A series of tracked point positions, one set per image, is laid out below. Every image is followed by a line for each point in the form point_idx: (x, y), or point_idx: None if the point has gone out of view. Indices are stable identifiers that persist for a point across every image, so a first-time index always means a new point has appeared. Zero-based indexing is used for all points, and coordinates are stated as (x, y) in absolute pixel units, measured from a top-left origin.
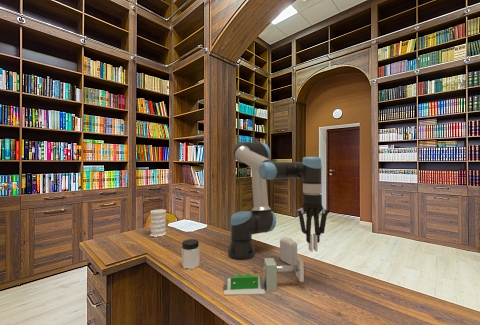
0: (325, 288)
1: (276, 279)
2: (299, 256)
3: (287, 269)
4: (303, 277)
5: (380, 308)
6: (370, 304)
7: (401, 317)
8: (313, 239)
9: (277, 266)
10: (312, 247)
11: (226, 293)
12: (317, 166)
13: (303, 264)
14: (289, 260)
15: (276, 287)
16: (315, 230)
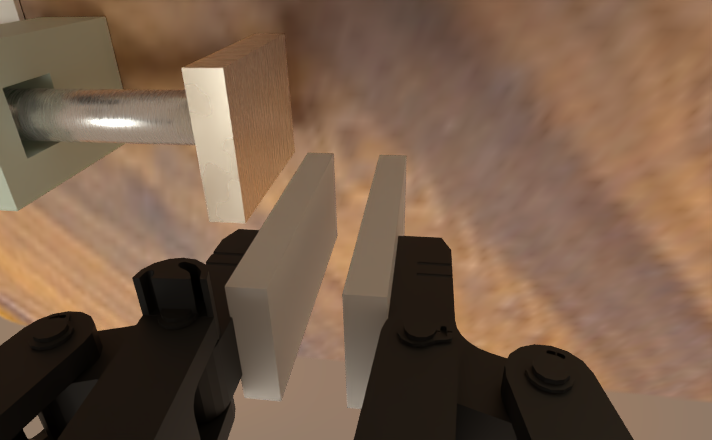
0: (462, 131)
1: (90, 164)
2: (224, 92)
3: (140, 143)
4: (284, 164)
5: (664, 328)
6: (638, 298)
7: (705, 386)
8: (361, 234)
9: (43, 132)
10: (326, 263)
11: None
12: None
13: (253, 210)
14: None
15: (121, 143)
16: (379, 392)
